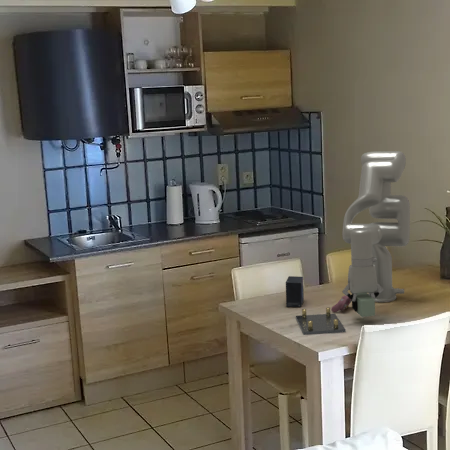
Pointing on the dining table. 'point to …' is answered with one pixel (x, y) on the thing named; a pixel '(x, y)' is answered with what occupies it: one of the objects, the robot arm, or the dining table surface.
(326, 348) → the dining table surface
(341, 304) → the video game controller
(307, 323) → the standoff plate
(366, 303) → the green board block
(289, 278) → the small box
